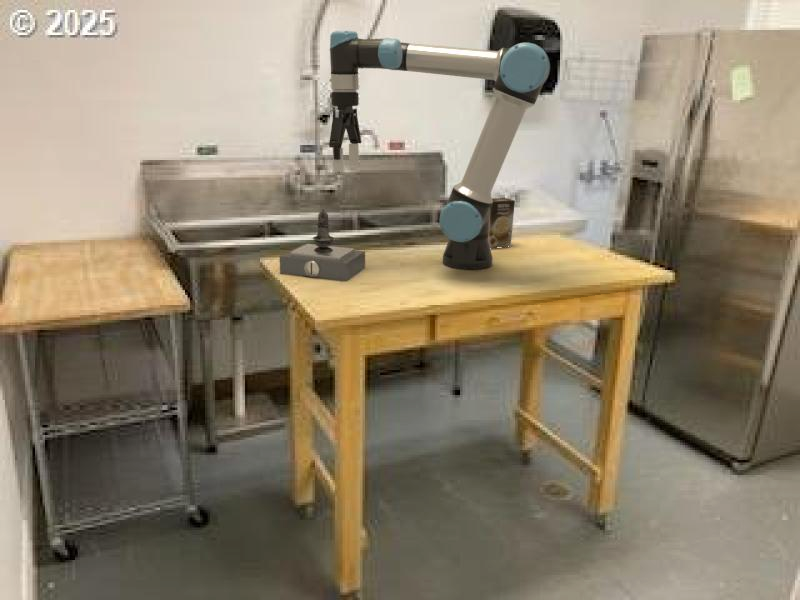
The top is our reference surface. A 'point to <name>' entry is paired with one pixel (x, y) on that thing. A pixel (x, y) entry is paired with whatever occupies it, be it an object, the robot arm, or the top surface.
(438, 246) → the top surface
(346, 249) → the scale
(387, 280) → the top surface
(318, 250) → the dark chess piece
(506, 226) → the coffee box
